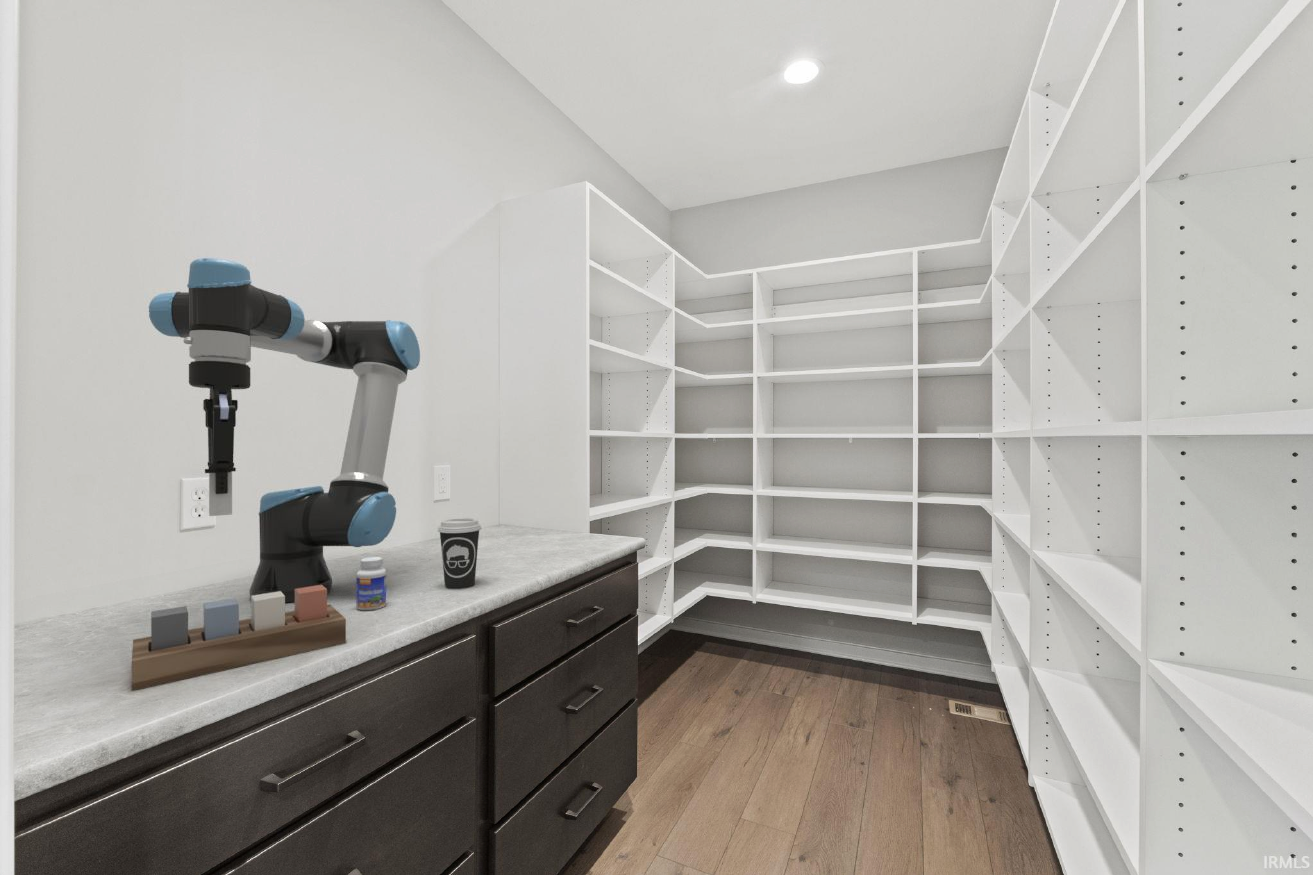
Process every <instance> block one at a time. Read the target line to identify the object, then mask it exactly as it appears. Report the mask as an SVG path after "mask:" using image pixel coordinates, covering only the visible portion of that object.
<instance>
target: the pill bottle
mask: <svg viewBox="0 0 1313 875" xmlns="http://www.w3.org/2000/svg"><path fill="white" fill-rule="evenodd" d="M383 562H384V559H383V557H378V556H373V557H364V558H362V559H360V564H359V565H360V566H359V567H361V569H360V570H358V571H357V572H356V581H355V582H356V586H355V587H356V590H355V592H356V593H355V596H356V597H355V601H356V602H355V607H356V610H358V611H374V610H378V609H382V608H383V607H385V606H386V605H387V570H386V568H384V567H383V564H384V563H383Z"/></svg>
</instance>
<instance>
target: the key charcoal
mask: <svg viewBox="0 0 1313 875" xmlns="http://www.w3.org/2000/svg"><path fill="white" fill-rule="evenodd" d="M150 615H151V619H150V620H151V621H150V626H151V627H150V628H151V630H150V632H151V633H150V634H151V636H150V637H151V651H155V650H160V649H166V648H171V647H176V646H181V645H186V644H188V630H189V610H188V606H187V605H184V606H177V607H172V608H165V609H160V610H153V611H150Z"/></svg>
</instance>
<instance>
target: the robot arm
mask: <svg viewBox="0 0 1313 875" xmlns="http://www.w3.org/2000/svg"><path fill="white" fill-rule="evenodd" d="M187 281H188V283H187V284H186V286H187V288H188V292H187V291H186V292H185V291H184V292H181V291H174V292H164V293H159V294H157V295H156V296H154V297H153V298H152V299H151V301H150V302H149V304H148V305H149V306H148V317H149V320H150V322H151V325H153V327H154V328H155V329H156V330H157V331H158V332H159V333H161V334H162V335H164V336H167V337H174V338H175V337H176V338H182V339H183V344H185V345H190V346H188V347H189V348H188V349H189V351H188V352H189V353H188V354H189V355H188V356H189V357H190V358H191V359H193V360H194V361H190V363H188V384H189V386H192V387H194V388H198V389H199V388H200V389H209V398H205V399H203V404H202V407H203V408H202V409H203V411H204V412H205V416H204V417H205V419H204V420H205V427H206V428H207V451H208V455H207V456H208V461H207V466H208V468H205V469H204V474H208V515H209V516H210V517H216V516H228V515H229V516H230V515H231V516H232V515H233V472H237V470H236V469H237V468H236V467H235V462H234V453H235V452H234V447H235V442H234V441H235V427H236V425H237V422H236V421H237V420H236V419H237V416H236V412H237V411H238V407H239V406H238V405H239V403H238V402H239V400H238V399H233V392H232V390H246V389H249V388H251V367H250V366H249V365H248V364H247V363H250V362H251V361H252V356H251V355H252V348H258V349H262V350H269V351H273V352H277V353H278V352H279V353H283V354H289V355H296V356H297V358H298V359H301V360H303V361H305V362H307V363H315V364H319V365H322V366H323V365H324V366H328V367H333V368H338V369H344V370H352V371H353V373H354V374H355V375H356V376H357V377H358V379H357V385H356V391H355V394H354V401H353V404H352V406H353V407H352V411H351V416H350V421H349V426H348V432H347V436H346V441H345V446H344V447H345V448H344V452H343V457H342V464H341V468H340V471H339V475H338V476H337V477H335V478H334V479H332V480H331V481H330V484H329V489H328V492H325V489H324V488H323V486H321V485H317V486H309V487H303V488H295V489H286V490H280V491H279V490H278V491H271V492H268V493H264V494H263V495H262V496H261V497H260V502H259V512H258V516H259V563H258V566H257V569H256V571H255V574H254V577H253V581H252V582H251V585H250V588H249V601H251V596H253V595H259V594H266V593H272V592H278V591H281V592H282V593H283V595H284V596H285V603H291V602H295V589H297V588H304V587H310V586H316V585H323V586H324V587H325V588H326V589H327V594H328V593H329V592H331V591H332V590H333V579H332V578H333V577H332V575H331V572H330V570H329V567H328V565H327V564H328V563H326V559H325V557H324V547H354V548H360V547H369V546H370V547H371V546H377V545H378V544H380V543H381V542H383V541H384V540H385V539H386V538H387V537H388V535H389V534H390V532H392V528H393V526H394V523H395V521H396V515H397V507H396V503H397V502H396V499H395V497H394V496H393V495H392V494H391V493H389V488H390V487H389V485H387V483H386V482H385V481H384V473H385V468H386V463H387V461H386V460H387V456H388V449H389V445H390V444H389V443H390V439H391V438H390V437H391V432H392V431H391V430H392V427H393V420H394V415H395V408H396V402H397V396H398V391H399V385H400V384H403V383H404V382H405V381H406V380H407V378H408V377H407V376H408V371H413V370H415V369H418V367H419V365H420V360H421V351H420V349H421V348H420V346H419V340H418V339H417V338H418V337H417V336H416V333H415V332H414V329H413V328H412V326H410V325H409V324H408V323H407V322H405V321H400V320H399V321H397V320H390V319H387V320H385V321H384V320H381V321H380V320H366V321H365V320H361V321H360V320H357V321H356V320H355V321H354V320H352V321H351V320H347V321H343V320H342V321H319V320H314V319H307V320H305V314H304V311H303V309H302V308H301V306H300V305H299V304H298V303H296V302H294V301H292V300H290V299H288V298H286V297H285V296H284V295H281V294H275V293H274V292H270V291H267V290H265V289H262V288H258V287H256V286H254V285H252V279H251V271H250V270H249V269H248V267H247V266H245V265H243V264H242V263H238V262H236V261H232V260H228V259H222V258H221V259H220V258H212V257H210V258H209V257H205V258H202V257H201V258H197V259H194V260H193V261H191V263H190V265H189V273H188V280H187Z"/></svg>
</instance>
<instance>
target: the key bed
mask: <svg viewBox="0 0 1313 875" xmlns="http://www.w3.org/2000/svg"><path fill="white" fill-rule="evenodd" d="M346 622H347V619H346V617H344V616H343V614H342V613H340V612H339V611H338V610H337V609H336V608H335V607H334V606H332V605H331V604H330V603H329V604H327V617H326V618H321V619H316V620H311V621H305V622H300V623H298V622H297V621H296V619H295V610H292V611H291V610H290V611H285V626H280V627H274V628H269V629H264V630H259V631H253V629H252V627H251V618H247V619H241V620H240V619H239V634H238V635H233V636H228V637H223V638H217V639H212V640H207V641H205V639H204V626H202V627H197V628H191V629H188V644H186V645H181V646H176V647H171V648H166V649H160V650H155V651H151V636H145V637H140V638H135V639H133V640H132V650H131V691H133V692H134V691H138V690H142V689H146V688H150V687H151V688H152V687H156V686H159V685H164V684H167V683H172V682H178V681H183V680H186V679H190V678H195V677H200V676H205V675H209V674H212V673H217V672H221V671H222V672H223V671H225V670H232V669H235V668H240V667H243V666H244V667H245V666H249V665H253V664H257V663H262V662H266V661H270V660H271V661H272V660H275V659H280V658H285V657H289V656H293V655H297V654H301V653H306V652H311V651H315V650H320V649H324V648H325V649H326V648H329V647H333V646H337V645H341V644H345V643H347V623H346Z"/></svg>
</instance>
